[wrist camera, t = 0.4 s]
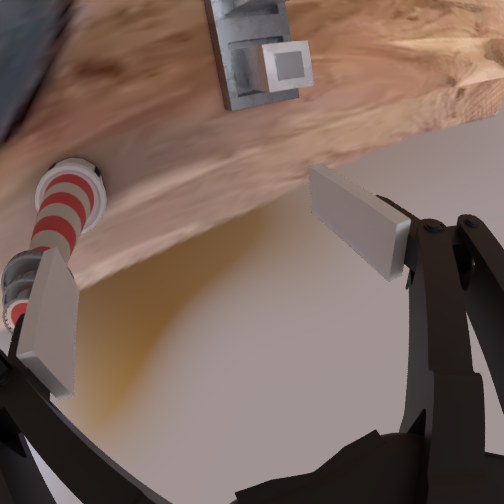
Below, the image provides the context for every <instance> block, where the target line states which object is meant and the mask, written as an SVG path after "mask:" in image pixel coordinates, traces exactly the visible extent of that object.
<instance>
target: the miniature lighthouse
mask: <svg viewBox="0 0 504 504" xmlns="http://www.w3.org/2000/svg"><path fill="white" fill-rule="evenodd" d="M100 174H101V173H100V172H99V170H98V169H97V167H95V166H94V165H93V164H91V163H89V162H87V161H86V160H84V159H80V158H68V159H65V160H62V161H60V162H58V163H57V164H56V163H55V164H54V165H53V166H52V167H50V168H49V170H48V171H47V172H46V174H45V175H44V176H43V177H42V178H41V180H40V182H39V184H38V186H37V188H36V194H35V205H36V210H37V212H38V216H37V219H36V223H35V227H34V231H33V235H32V239H31V243H30V247H29V250H28V251H23V252H21V253H18V254H17V255H15V256H14V257H13V258H12V259H11V260H10V261H9V263H8V265H7V266H6V267H5V269H4V271H3V274H2V278H1V288H2V292H3V298H2V302H3V308H4V310H3V322H4V324H5V327H6V328H7V330H8V331H9V332H10V333H11V335H13V332H11V330H10V329H11V328H12V329H13V331H14V327H15V323H16V322H17V320H18V318H19V317H20V315H21V314H23V313H25V312H26V308H27V305H28V301H29V297H30V294H31V290H32V287H33V283H34V280H35V277H36V274H37V271H38V267H39V264H40V261H41V258H42V255H43V253H44V251H46V250H49V249H51V248H54V247H56V246H57V248H58V250H59V252H60V254H61V256H62V258H63V260H64V262H65V264H66V265H67V263H68V260H69V258H70V256H71V253H72V251H73V249H74V247H75V245H76V242H77V240H78V238H79V236H80V235H81V234H83V233H86V232H88V231H90V230H91V229H92V228H94V227H95V226H96V225H97V224H98V223H99V221H100V220H101V219H102V217H103V214H104V212H105V210H106V202H107V198H106V191H105V188H104V186H103V182H102V176H101V175H100ZM67 268H68V267H67ZM68 270H69V271H70V269H69V268H68ZM70 273H71V271H70ZM71 275H72V273H71ZM72 277H73V275H72ZM73 279H74V277H73ZM74 281H75V280H74ZM5 287H6V288H5ZM4 288H5V289H4ZM5 304H6V306H5ZM7 309H8V311H7ZM5 313H6V316H5ZM5 317H7V319H6V320H5ZM7 320H8V322H9V323H8V324H6V321H7ZM9 324H10V326H11V327H10V328H9V327H8V325H9Z"/></svg>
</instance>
